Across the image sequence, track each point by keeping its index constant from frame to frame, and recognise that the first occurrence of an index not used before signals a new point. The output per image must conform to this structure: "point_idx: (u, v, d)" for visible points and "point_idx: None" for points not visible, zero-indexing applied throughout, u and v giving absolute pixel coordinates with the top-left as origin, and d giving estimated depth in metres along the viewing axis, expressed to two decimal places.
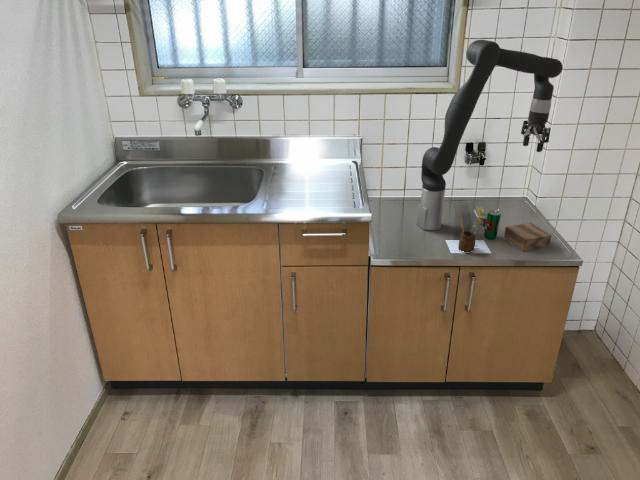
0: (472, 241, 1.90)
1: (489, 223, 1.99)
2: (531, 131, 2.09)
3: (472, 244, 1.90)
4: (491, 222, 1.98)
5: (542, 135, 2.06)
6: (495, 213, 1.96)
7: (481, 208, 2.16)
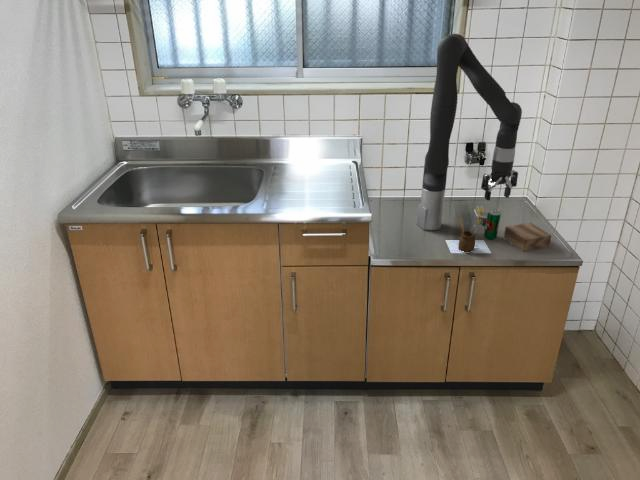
0: (472, 241, 1.90)
1: (489, 223, 1.99)
2: (499, 182, 1.91)
3: (472, 244, 1.90)
4: (491, 222, 1.98)
5: None
6: (495, 213, 1.96)
7: (481, 208, 2.16)
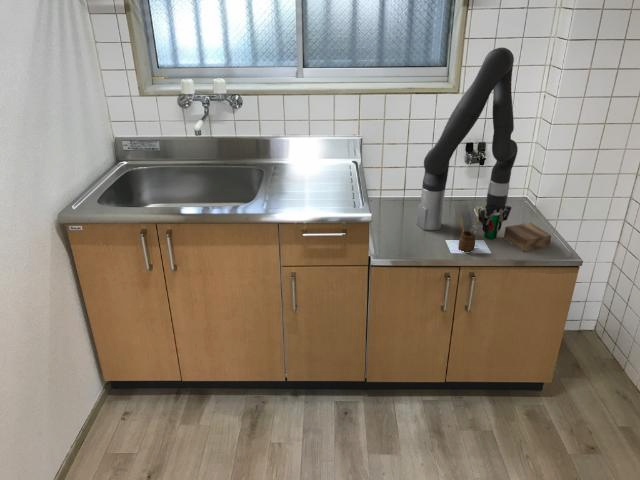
0: (472, 241, 1.90)
1: (489, 223, 1.99)
2: None
3: (472, 244, 1.90)
4: (491, 222, 1.98)
5: None
6: (495, 213, 1.96)
7: (481, 207, 2.17)
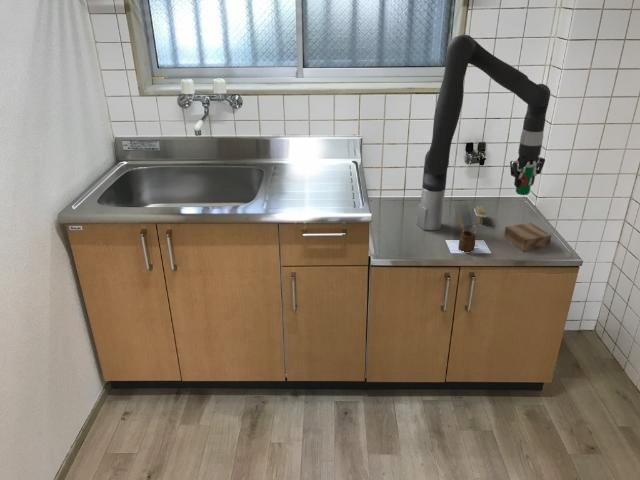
0: (472, 241, 1.90)
1: (522, 177, 1.87)
2: None
3: (472, 244, 1.90)
4: (523, 176, 1.86)
5: None
6: None
7: (481, 207, 2.17)
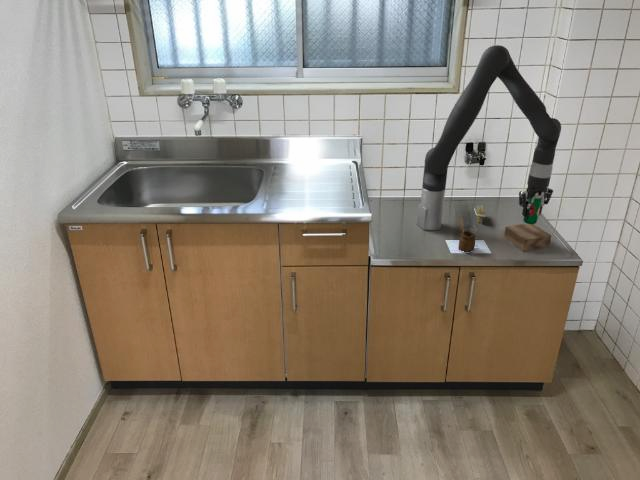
0: (472, 241, 1.90)
1: (530, 207, 1.91)
2: None
3: (472, 244, 1.90)
4: (532, 206, 1.90)
5: None
6: (537, 196, 1.89)
7: (481, 206, 2.17)
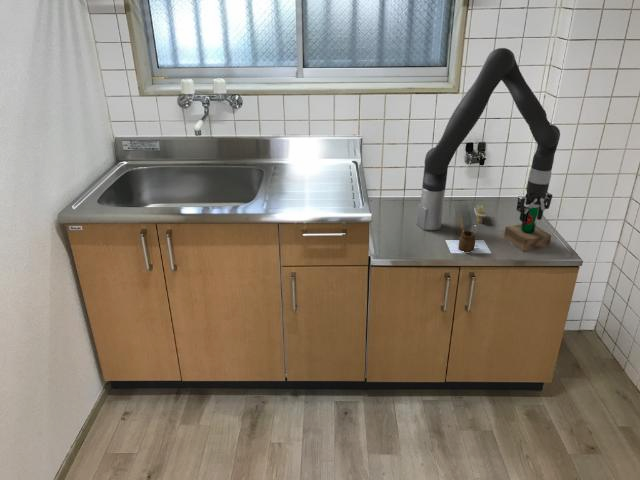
0: (472, 241, 1.90)
1: (527, 216, 1.93)
2: (534, 203, 1.91)
3: (472, 244, 1.90)
4: (529, 215, 1.92)
5: None
6: (534, 205, 1.90)
7: (481, 206, 2.17)
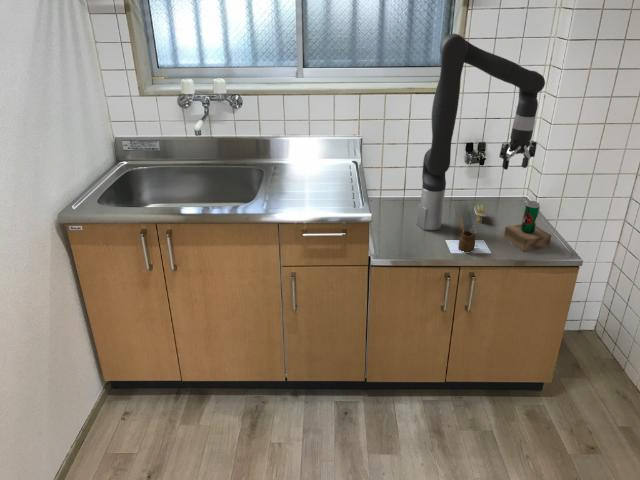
0: (472, 241, 1.90)
1: (527, 216, 1.93)
2: (517, 151, 1.93)
3: (472, 244, 1.90)
4: (529, 215, 1.92)
5: None
6: (534, 206, 1.90)
7: (481, 206, 2.18)
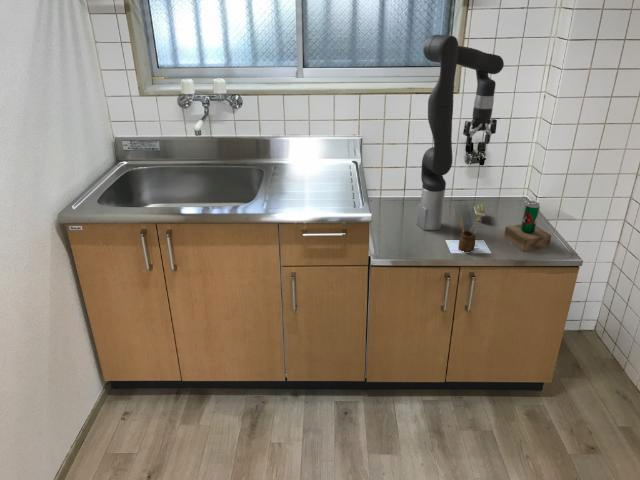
0: (472, 241, 1.90)
1: (527, 216, 1.93)
2: (479, 128, 2.10)
3: (472, 244, 1.90)
4: (529, 215, 1.92)
5: None
6: (534, 205, 1.90)
7: (481, 205, 2.18)
